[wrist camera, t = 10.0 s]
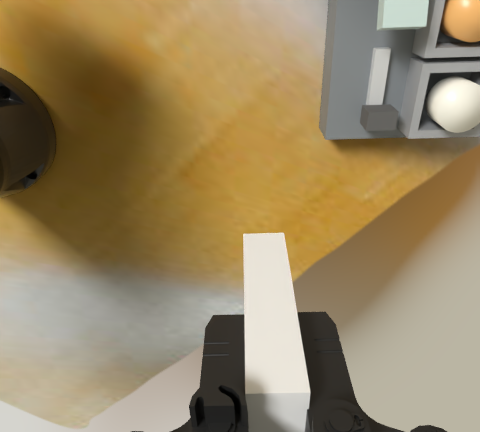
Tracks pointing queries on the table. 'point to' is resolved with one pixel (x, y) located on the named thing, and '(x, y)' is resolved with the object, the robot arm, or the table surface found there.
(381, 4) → the block
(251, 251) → the robot arm
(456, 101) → the button
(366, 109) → the slider
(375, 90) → the panel
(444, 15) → the button
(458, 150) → the table surface
